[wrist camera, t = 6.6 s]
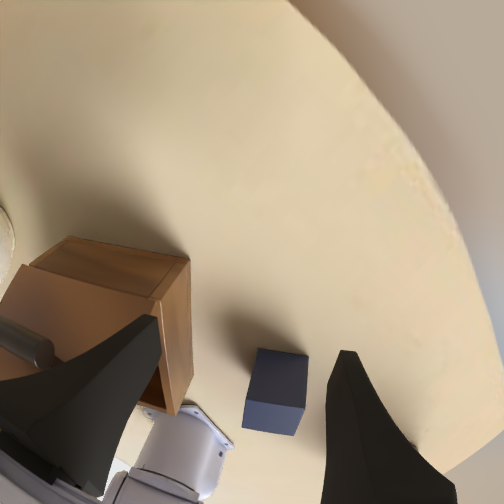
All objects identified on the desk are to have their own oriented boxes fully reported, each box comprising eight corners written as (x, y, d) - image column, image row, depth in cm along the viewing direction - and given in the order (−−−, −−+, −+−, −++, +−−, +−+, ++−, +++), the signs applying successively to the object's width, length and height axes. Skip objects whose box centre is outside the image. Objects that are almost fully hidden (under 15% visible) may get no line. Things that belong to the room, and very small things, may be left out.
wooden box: (193, 374, 28) (176, 417, 23) (93, 344, 29) (68, 376, 24) (190, 258, 22) (160, 299, 17) (68, 235, 23) (28, 263, 18)
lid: (91, 523, 9) (46, 531, 6) (-40, 425, 10) (-83, 405, 7) (159, 307, 17) (139, 263, 14) (27, 269, 18) (-1, 231, 15)
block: (298, 387, 26) (293, 436, 21) (253, 379, 26) (241, 427, 22) (308, 355, 24) (305, 408, 19) (258, 347, 24) (245, 399, 20)
